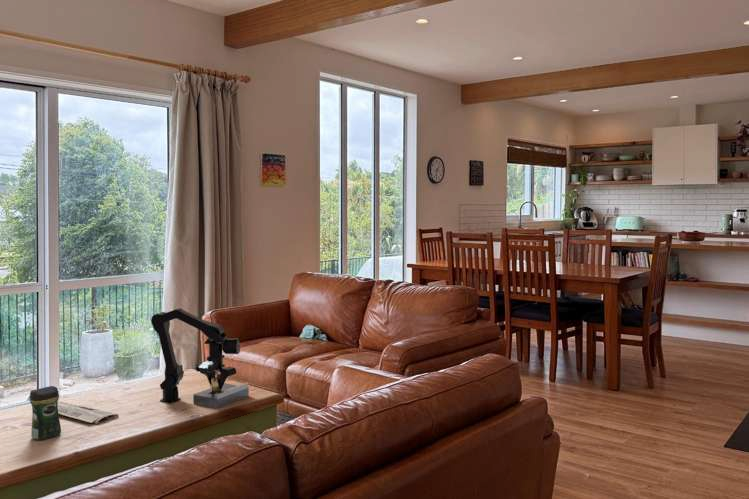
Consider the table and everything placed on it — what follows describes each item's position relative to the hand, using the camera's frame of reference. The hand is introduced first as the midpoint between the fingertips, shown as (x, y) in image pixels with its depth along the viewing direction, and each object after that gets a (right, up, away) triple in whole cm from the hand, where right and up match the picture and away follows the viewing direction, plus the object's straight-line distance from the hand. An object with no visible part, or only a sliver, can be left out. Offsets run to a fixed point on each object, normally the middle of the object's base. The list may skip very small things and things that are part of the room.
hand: (216, 388), depth 281 cm
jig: (+2, -6, +3) cm, 7 cm away
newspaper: (-54, -8, -17) cm, 57 cm away
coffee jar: (-54, -9, -41) cm, 68 cm away
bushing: (0, -2, 0) cm, 2 cm away
